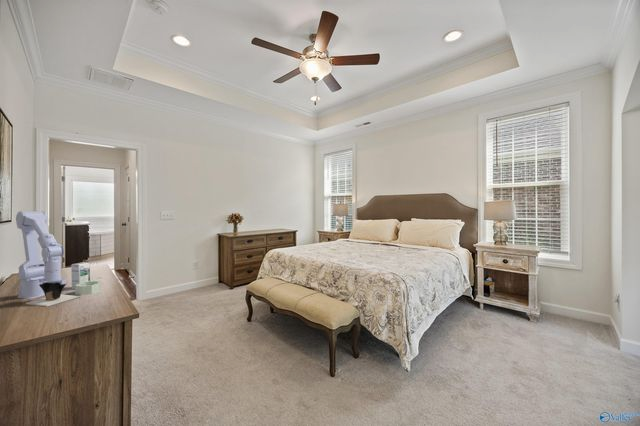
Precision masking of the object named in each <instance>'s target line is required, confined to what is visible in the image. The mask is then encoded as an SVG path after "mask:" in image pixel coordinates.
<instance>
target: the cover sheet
mask: <svg viewBox="0 0 640 426" xmlns="http://www.w3.org/2000/svg"><path fill="white" fill-rule="evenodd" d="M77 297H79V295H73V294H70V295H69V294H62V293H61V295H60V298H56V299H54V298H53V292H48V293H46V297H45V296H44V297H41V298H39V299H38V298H37V299H35V300H30V301H28V302H27V301H26V302H25V303H26V304H30V305H29V306H33V305H38V306H37V307H41V306H50V305H54V304H57V303H60V302H64V301H67V300H70V299H74V298H77ZM77 299H78V298H77ZM74 300H75V299H74ZM67 302H68V301H67ZM64 303H65V302H64ZM57 305H58V304H57ZM54 306H55V305H54Z"/></svg>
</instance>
